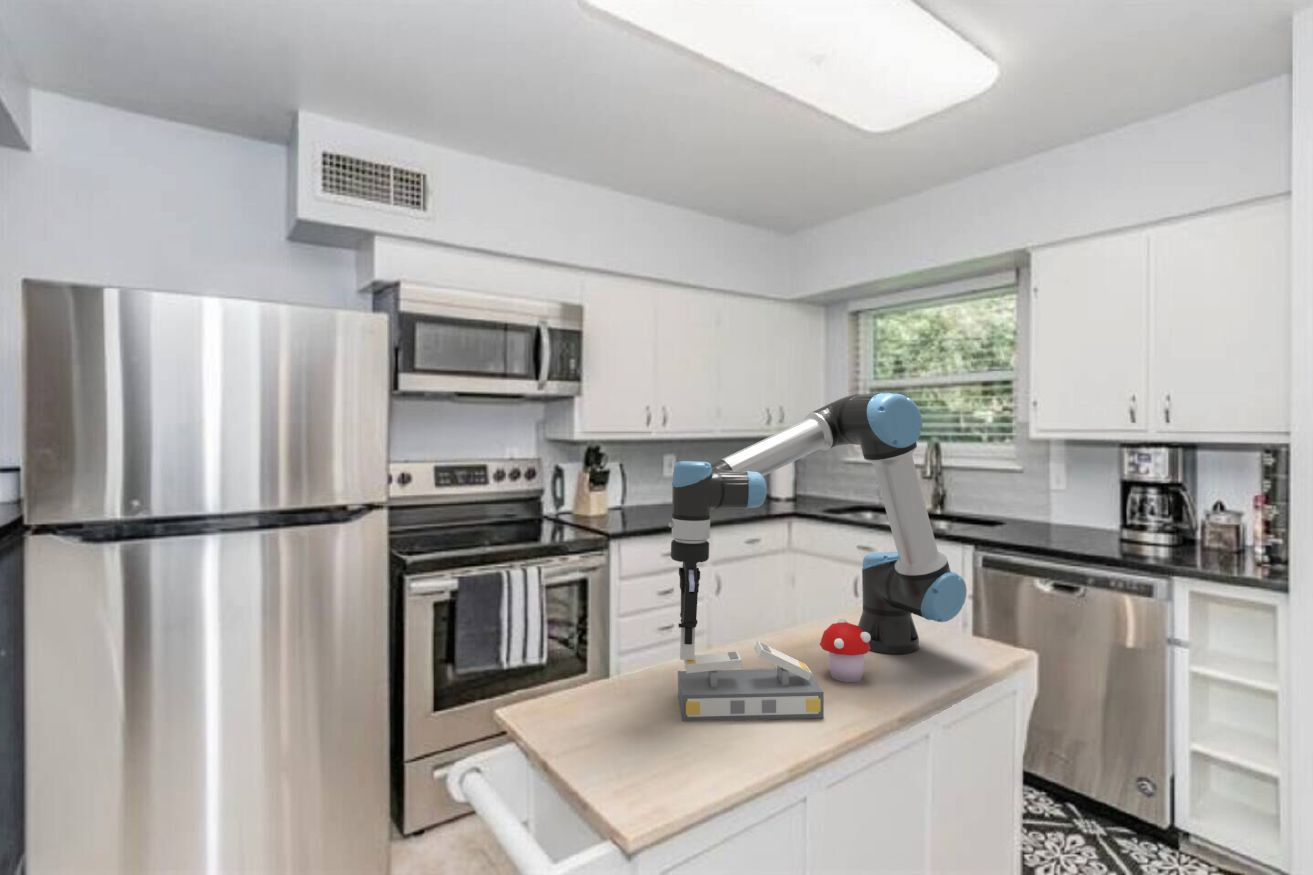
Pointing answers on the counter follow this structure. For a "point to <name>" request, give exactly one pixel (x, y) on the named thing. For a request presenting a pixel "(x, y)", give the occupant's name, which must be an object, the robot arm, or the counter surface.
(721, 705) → the switch unit
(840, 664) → the mushroom
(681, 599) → the robot arm
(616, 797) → the counter surface
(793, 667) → the rocker
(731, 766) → the counter surface
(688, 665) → the rocker
